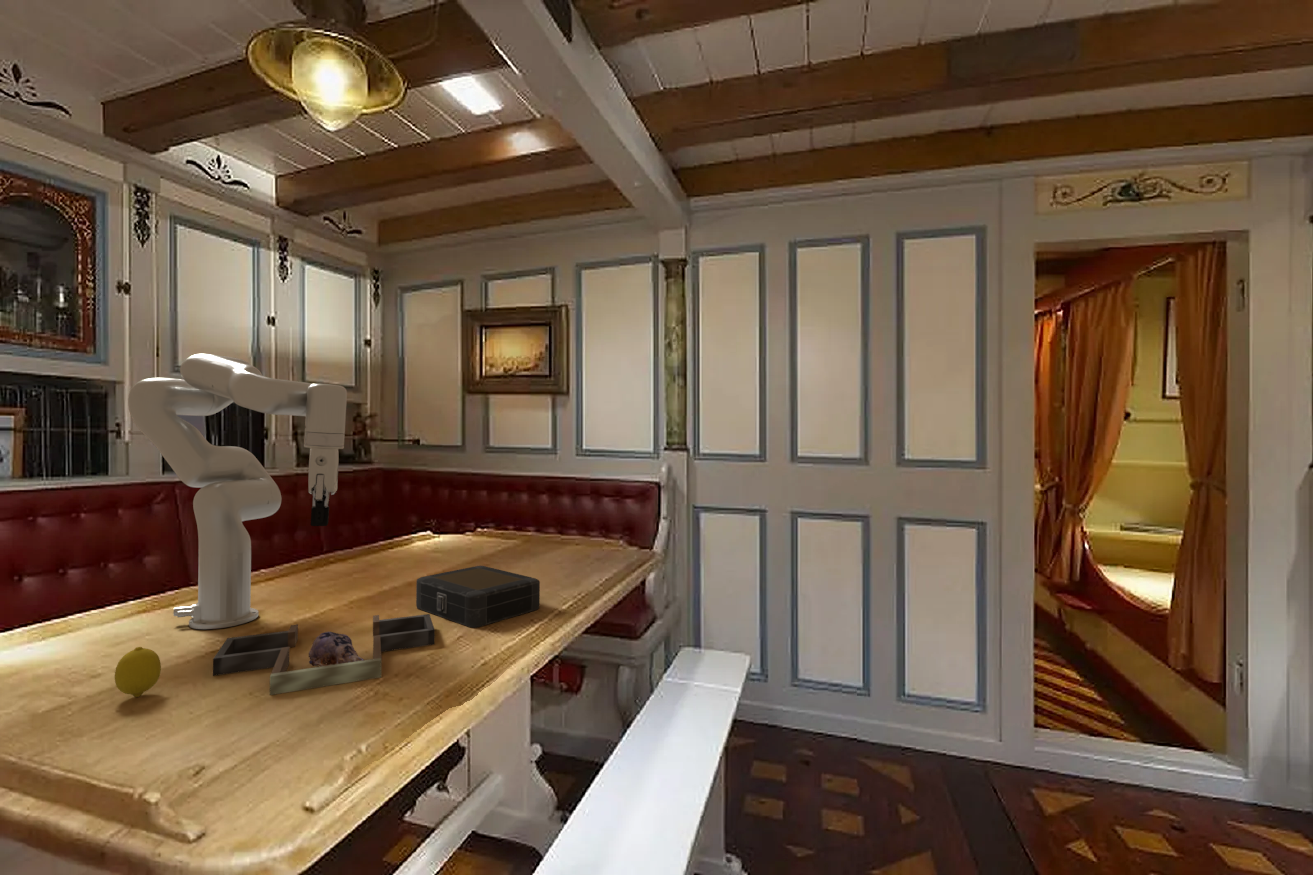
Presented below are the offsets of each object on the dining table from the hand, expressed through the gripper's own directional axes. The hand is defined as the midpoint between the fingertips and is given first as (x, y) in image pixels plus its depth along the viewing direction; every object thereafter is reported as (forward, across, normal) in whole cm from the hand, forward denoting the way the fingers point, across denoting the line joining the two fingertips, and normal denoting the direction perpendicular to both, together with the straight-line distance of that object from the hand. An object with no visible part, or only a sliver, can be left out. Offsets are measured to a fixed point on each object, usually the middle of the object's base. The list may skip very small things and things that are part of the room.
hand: (319, 525), depth 124 cm
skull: (+22, -26, -6) cm, 35 cm away
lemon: (+23, -26, +22) cm, 41 cm away
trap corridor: (+22, -18, -5) cm, 29 cm away
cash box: (+22, +2, -35) cm, 41 cm away
